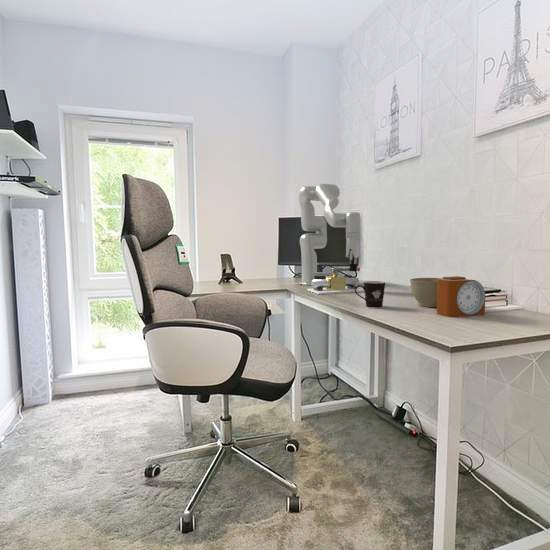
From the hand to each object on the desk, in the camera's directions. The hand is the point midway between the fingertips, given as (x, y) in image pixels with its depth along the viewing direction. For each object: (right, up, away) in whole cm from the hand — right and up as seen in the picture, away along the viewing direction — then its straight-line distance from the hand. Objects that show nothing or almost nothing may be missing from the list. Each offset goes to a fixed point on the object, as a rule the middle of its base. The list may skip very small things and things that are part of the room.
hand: (353, 271), depth 199 cm
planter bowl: (+22, -15, -45) cm, 52 cm away
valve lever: (-4, 0, +3) cm, 5 cm away
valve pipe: (-9, -11, +4) cm, 15 cm away
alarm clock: (+26, -16, -62) cm, 69 cm away
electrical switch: (-14, -10, +18) cm, 24 cm away
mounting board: (-9, -11, +3) cm, 14 cm away
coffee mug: (-2, -15, -43) cm, 46 cm away
